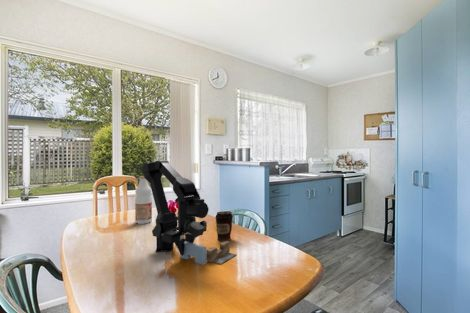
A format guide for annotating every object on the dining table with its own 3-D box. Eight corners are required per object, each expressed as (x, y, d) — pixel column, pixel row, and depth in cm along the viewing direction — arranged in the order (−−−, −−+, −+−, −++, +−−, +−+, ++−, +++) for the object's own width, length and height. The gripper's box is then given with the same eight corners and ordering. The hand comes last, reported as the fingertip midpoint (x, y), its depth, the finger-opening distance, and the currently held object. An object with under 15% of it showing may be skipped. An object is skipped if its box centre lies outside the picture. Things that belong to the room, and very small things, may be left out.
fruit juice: (132, 222, 149) (132, 176, 149) (147, 219, 156) (147, 175, 156) (139, 225, 142) (139, 177, 142) (154, 222, 149) (154, 176, 149)
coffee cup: (230, 243, 112) (230, 214, 112) (213, 242, 114) (213, 214, 114) (234, 237, 121) (234, 210, 121) (218, 236, 123) (218, 210, 123)
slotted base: (219, 265, 89) (219, 253, 89) (198, 259, 95) (198, 247, 95) (237, 254, 99) (237, 243, 99) (218, 249, 105) (218, 239, 105)
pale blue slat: (206, 262, 92) (206, 246, 92) (202, 264, 90) (202, 248, 90) (183, 255, 98) (183, 240, 98) (180, 257, 97) (180, 242, 97)
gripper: (181, 222, 84) (182, 267, 84) (216, 212, 100) (216, 250, 100) (160, 217, 91) (161, 260, 91) (196, 209, 106) (196, 245, 106)
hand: (185, 253), depth 96 cm, fingers open, 3 cm apart
